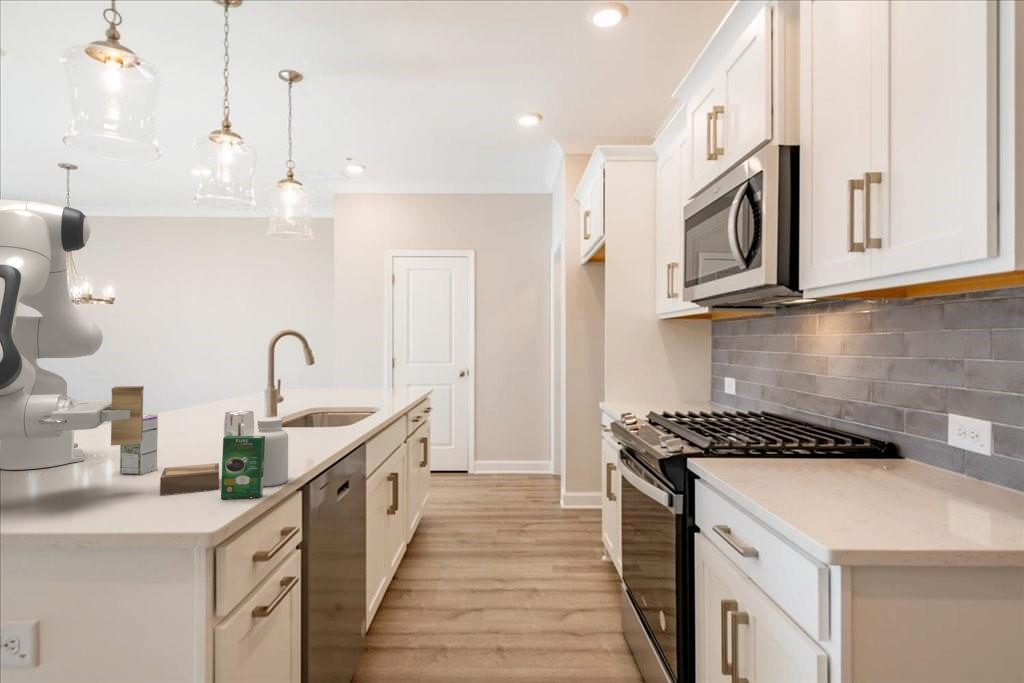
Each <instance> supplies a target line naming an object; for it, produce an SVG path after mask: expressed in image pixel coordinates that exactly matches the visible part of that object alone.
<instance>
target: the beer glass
mask: <svg viewBox="0 0 1024 683" xmlns="http://www.w3.org/2000/svg"><path fill="white" fill-rule="evenodd" d="M254 413H255V412H254V411H253V410H233V411H227V412H224V420H223V438H224V437H225V436H252V435H253V434H254V433H255V415H254Z"/></svg>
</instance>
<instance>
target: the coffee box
mask: <svg viewBox="0 0 1024 683" xmlns="http://www.w3.org/2000/svg"><path fill="white" fill-rule="evenodd" d="M264 450H265V436H225V437H224V436H223V440H222V456H221V457H222V458H221V459H222V460H221V461H222V462H221V484H220V485H221V486H220V488H221V489H220V499H221V500H226V499H227V500H230V499H229V498H233V499H254V498H253V497H260V498H261V497H262V496H261V495H263V492H264V490H263V489H264V487H263V472H264ZM250 497H252V498H250Z"/></svg>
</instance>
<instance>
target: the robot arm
mask: <svg viewBox="0 0 1024 683" xmlns="http://www.w3.org/2000/svg"><path fill="white" fill-rule="evenodd" d="M90 235H91V226H90V224H89V221H88V220H87V216H86V215H85V214H84V213H83V212H82V210H79V209H75V208H72V207H69V206H64V207H63V206H59V205H55V204H51V203H46V202H45V203H44V202H40V201H32V200H29V201H27V200H18V199H17V200H16V199H5V198H1V199H0V470H5V471H6V470H7V471H9V470H11V471H15V470H16V471H17V470H20V471H21V470H33V469H35V470H36V469H44V468H52V467H58V466H62V465H65V464H66V465H67V464H71V463H77V462H82V461H85V458H84V451H83V449H82V448H78V447H79V446H78V443H77V442H75V431H78V430H79V431H81V430H82V431H85V430H94V429H97V428H98V427H99V426H101V425H103V424H104V423H105V422H111V421H114V420H119V419H129V418H130V417H131V411H130V410H120V411H112V400H108V399H107V400H106V399H96V398H95V399H91V398H90V399H89V398H71V395H68V383H67V381H66V380H65V378H64V377H62V376H61V375H60V374H57V373H55V372H53V371H50V370H47V369H44V368H42V367H40V366H39V365H38V362H37V360H38V359H74V358H81V357H87V356H93V355H94V354H96V352H98V351H99V350H100V348H101V347H102V343H103V338H104V336H103V332H102V330H101V328H100V326H99V325H98V324H97V323H96V322H95V321H93V320H91V319H90V318H88V317H87V316H85V315H84V314H82V313H81V312H80V310H78V308H76V306H75V304H73V302H72V300H71V297H70V294H69V287H68V277H67V276H68V274H67V272H68V271H67V270H68V269H67V256H66V252H67V253H69V252H75V251H79V250H81V249H83V248H84V247H86V244H87V242H88V240H89V239H90V237H91V236H90ZM19 303H20V304H22V305H25V306H27V307H28V308H29V307H30V308H32V309H33V310H36V311H37V312H38V313H40V314H41V315H42V316H31V315H30V316H26V315H25V316H24V315H23V316H21V315H17V311H18V306H19Z"/></svg>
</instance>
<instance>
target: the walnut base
mask: <svg viewBox="0 0 1024 683" xmlns="http://www.w3.org/2000/svg"><path fill="white" fill-rule="evenodd" d="M159 479H160V481H159V488H160V489H159V496H166V495H165V494H170V495H176V494H175V493H179V494H187V493H186V492H188V493H195V491H198V492H205V491H204V490H207V491H214V490H213V489H216V490H219V488H220V463H215V462H214V463H204V464H203V463H202V464H193V465H181V466H171V467H164V468H163V470H162V472H161V475H160V478H159Z"/></svg>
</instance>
